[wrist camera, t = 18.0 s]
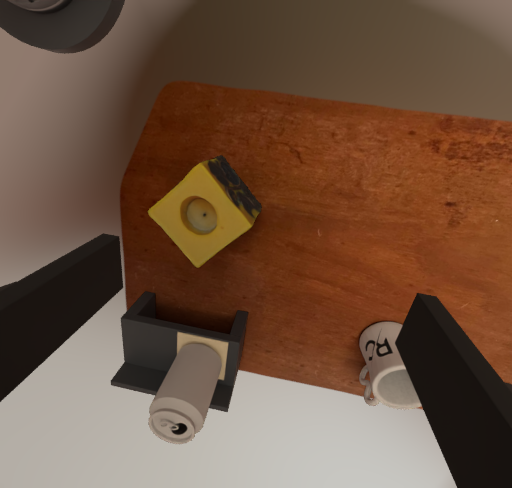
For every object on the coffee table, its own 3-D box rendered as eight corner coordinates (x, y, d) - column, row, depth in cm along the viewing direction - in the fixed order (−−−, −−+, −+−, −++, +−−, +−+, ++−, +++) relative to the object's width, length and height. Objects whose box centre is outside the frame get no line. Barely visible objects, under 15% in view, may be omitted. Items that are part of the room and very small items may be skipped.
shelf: (147, 335, 57) (111, 385, 46) (145, 291, 53) (104, 334, 42) (241, 355, 56) (227, 412, 45) (248, 312, 51) (234, 363, 40)
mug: (381, 310, 47) (401, 355, 38) (424, 336, 48) (454, 386, 39) (336, 354, 52) (344, 402, 43) (376, 376, 53) (392, 429, 44)
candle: (217, 242, 46) (197, 271, 37) (175, 194, 44) (143, 213, 35) (264, 206, 43) (255, 229, 34) (221, 152, 40) (199, 161, 31)
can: (207, 380, 48) (180, 456, 37) (171, 356, 47) (132, 427, 36) (232, 357, 45) (210, 433, 34) (194, 332, 44) (159, 400, 33)
